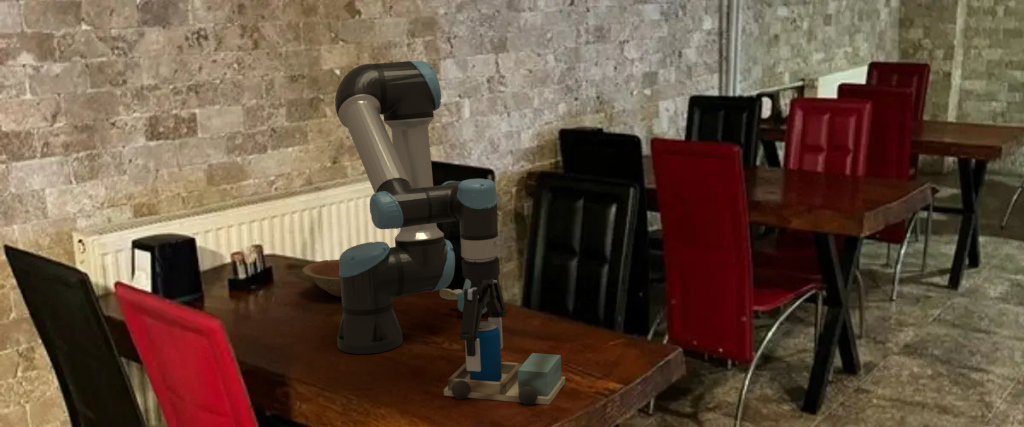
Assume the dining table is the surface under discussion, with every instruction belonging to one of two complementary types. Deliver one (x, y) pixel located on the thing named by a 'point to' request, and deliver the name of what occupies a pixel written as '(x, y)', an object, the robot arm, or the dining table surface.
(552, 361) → the toy truck
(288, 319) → the dining table surface
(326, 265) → the bowl
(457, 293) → the toy figure
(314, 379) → the dining table surface
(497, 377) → the beverage can
